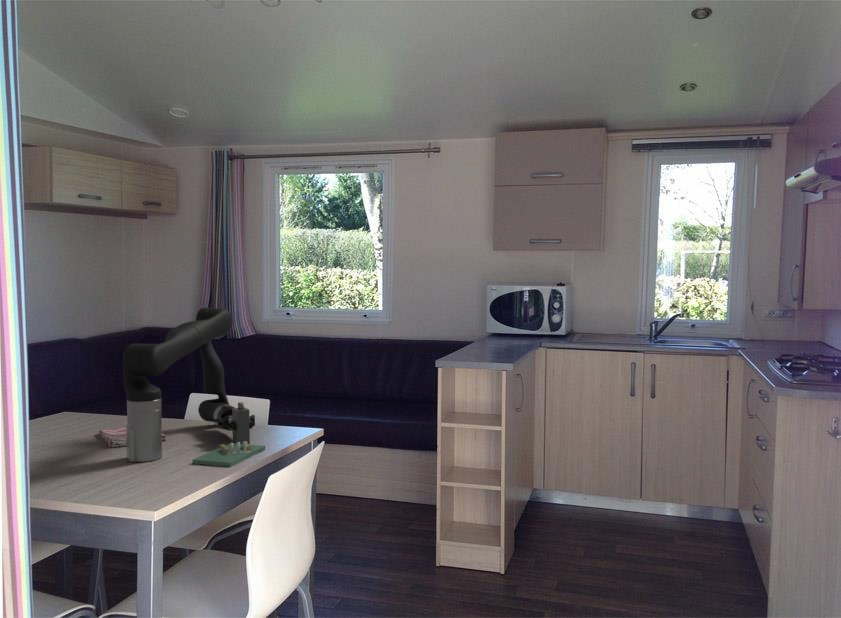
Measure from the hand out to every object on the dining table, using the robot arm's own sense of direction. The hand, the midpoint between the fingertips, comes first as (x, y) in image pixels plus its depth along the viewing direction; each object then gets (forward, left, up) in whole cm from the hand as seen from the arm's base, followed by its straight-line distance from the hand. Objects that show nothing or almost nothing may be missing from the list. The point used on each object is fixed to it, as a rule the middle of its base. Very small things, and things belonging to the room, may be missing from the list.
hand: (243, 426), depth 216 cm
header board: (-7, -11, -6) cm, 15 cm away
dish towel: (-29, +29, -7) cm, 41 cm away
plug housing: (0, +3, -6) cm, 7 cm away
